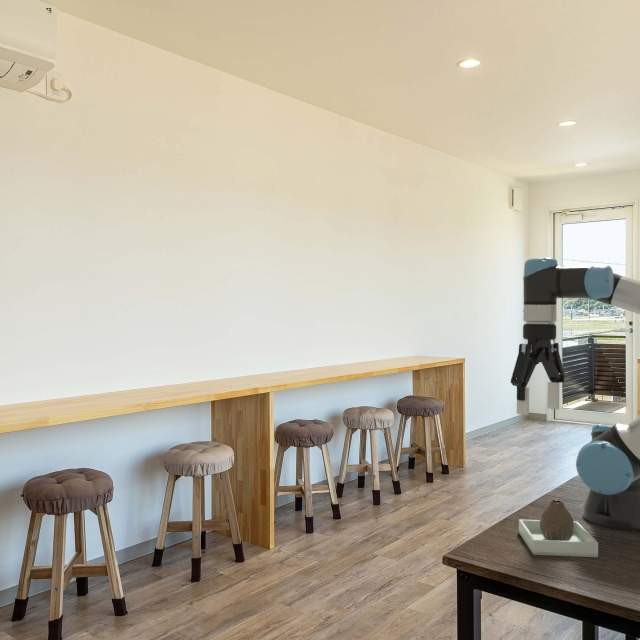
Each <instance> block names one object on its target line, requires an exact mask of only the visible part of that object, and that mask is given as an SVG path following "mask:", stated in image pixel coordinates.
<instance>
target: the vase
mask: <svg viewBox="0 0 640 640" xmlns="http://www.w3.org/2000/svg"><path fill="white" fill-rule="evenodd" d="M539 520H540V529H541V533H542V535H543V537H544V538H545V539H546V540H559V541H569V540H570V539H571V537H572V535H573V531H574V523H573V521H574V520H573V516H572V515H571V513H570V512H569V510H568V509H567V507H566V506H565V504H564V502H563V501H562V500H559V499H551V501H550V502H549V504H548V505H547V506H546V507H545V508H544V509H543V511H542V513H541V515H540V518H539Z"/></svg>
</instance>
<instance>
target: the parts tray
mask: <svg viewBox="0 0 640 640" xmlns="http://www.w3.org/2000/svg"><path fill="white" fill-rule="evenodd" d="M573 523H574V531H573V535H572V537H571V539H570V540H569V541H559V540H546V539H545V538H544V537H543V535H542V533H541V529H540V519H518V533H519V536H521V538H522V540H523V541H524V543H525V544H526V546H527V547H528V549H529V551H530V552H531V553H532V555H534V556H552V557H553V556H556V557H557V556H559V557H583V558H599V542H598V540H596V539H595V538H594V537H593V536H592V535H591V534H590V533H589V532H588V531H587V530H586V529H585V528H584V527H583V526H582V525H581V524H580V523H579V521H574V520H573Z"/></svg>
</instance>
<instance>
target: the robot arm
mask: <svg viewBox="0 0 640 640" xmlns="http://www.w3.org/2000/svg"><path fill="white" fill-rule="evenodd" d="M523 269H524V270H523V277H522V280H523V310H522V312H523V317H522V319H523V322H525V323H524V324H523V326H522V337H523V339H524V340H527V343H519V345H518V353H517V357H516V361H515V363H514V369H513V371H512V374H511V378H510V383H511V385H512V386H513V387H516V414H517V415H524V416H529V415H530V386H527V385H528V384H529V381H531V377H532V375H533V373H534V370H535V369H536V366H537V365H538V364H540V363H541V364H542V366H543V369H544V370H545V373H546V375H547V377H548V379H549V381H547V401H546V402H547V404H546V405H547V406H546V408H547V409H551V410H560V383H561V384H563V383H565V378H566V375H565V371H564V366H563V363H562V358H561V355H560V350H559V349H560V345H559V342H553V340H556V339H557V325H556V324H555V323H556V322H558V321H557V318H558V317H557V316H558V315H557V303H558V302H557V300H558V299H588V300H593V301H596V302H600V303H602V304H606V305H611V306H612V307H616V308H619V309H623V310H624V311H625V310H626V311H628V312H632V313H635V314H636V315H637V314H638V315H640V280H637V279H635V278H631V277H627V276H623V275H620V274H617V273H614V272H613V268H612V267H611V266H610V265H608V264H601V265H600V264H592V265H591V264H590V265H570V266H565V265H564V266H562V265H561V266H560V265H559V264H558V260H557V259H556V258H553V257H552V258H551V257H536V258H529V259H527V260H526V261H525V262H524V268H523ZM590 436H591V441H590V442H588V443H586V444H585V445H583V446H582V447H581V448H580V450H579V451H578V453H577V454H578V455H577V456H576V459H575V460H576V461H575V465H576V466H575V468H576V472H577V474H578V477H579V478H580V480H581V482H582V483H584V485H585V486H586V487H587V488H588V489H589V490H588V492H587V496H586V498H585V499H584V500H585V501H584V504H583V507H582V516H583V518H584V519H585V520H587V522H588V521H589V522H591V523H593V524H596V525H597V526H598V525H599V526H602V527H606V528H610V529H611V528H612V529H616V530H625V531H627V530H628V531H640V415H639V416H638V417H637V418H635V419H633V421H631V422H630V423H621V422H620V423H618V422H617V423H614V424H613V425H612V424H601V423H600V424H599V423H598V424H597V423H596V424H594V425H592V428H591V432H590Z"/></svg>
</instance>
